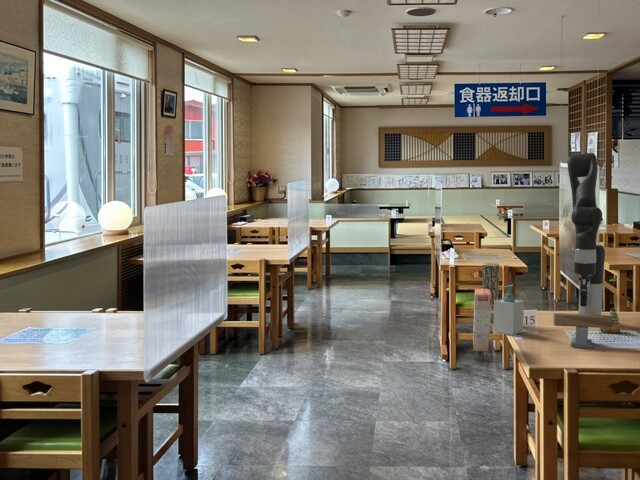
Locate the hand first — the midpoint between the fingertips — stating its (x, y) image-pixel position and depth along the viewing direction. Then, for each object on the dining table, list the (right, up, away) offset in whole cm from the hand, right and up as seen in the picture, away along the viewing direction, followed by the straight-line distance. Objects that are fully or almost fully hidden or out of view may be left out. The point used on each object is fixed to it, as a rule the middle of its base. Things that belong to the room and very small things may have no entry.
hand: (583, 304), depth 264 cm
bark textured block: (-25, -11, +41) cm, 50 cm away
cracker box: (-39, -16, -3) cm, 42 cm away
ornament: (+19, -13, +22) cm, 32 cm away
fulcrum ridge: (0, -15, +2) cm, 15 cm away
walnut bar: (0, -8, +1) cm, 8 cm away
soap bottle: (-23, -13, +21) cm, 34 cm away
